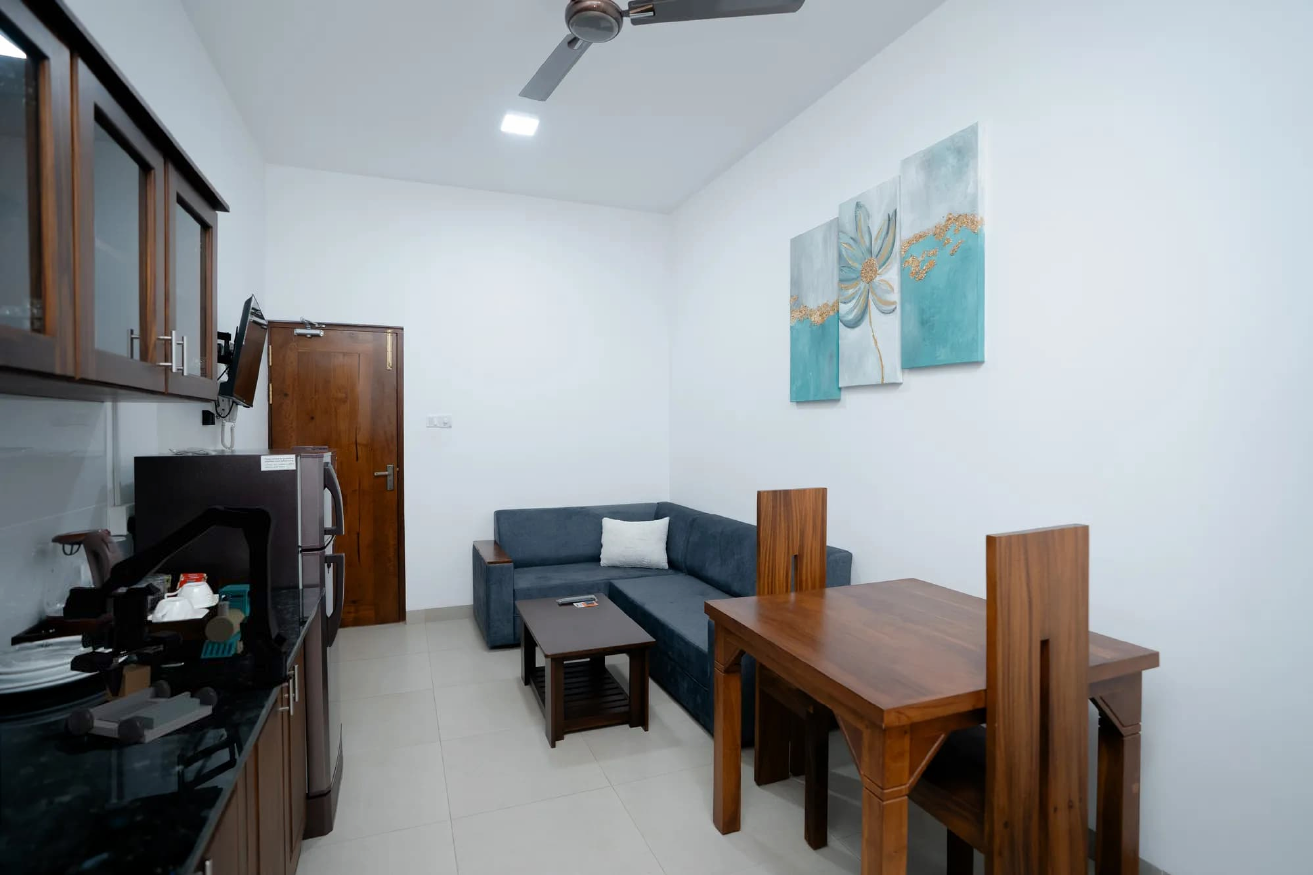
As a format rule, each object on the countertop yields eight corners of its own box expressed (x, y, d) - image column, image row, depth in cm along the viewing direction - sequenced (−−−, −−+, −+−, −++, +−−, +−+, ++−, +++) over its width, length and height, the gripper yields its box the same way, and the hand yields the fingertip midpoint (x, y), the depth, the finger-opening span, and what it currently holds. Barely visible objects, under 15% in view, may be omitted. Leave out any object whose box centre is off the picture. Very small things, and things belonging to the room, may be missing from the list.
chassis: (152, 700, 133) (153, 678, 133) (218, 710, 129) (218, 688, 129) (66, 733, 118) (66, 709, 118) (137, 746, 113) (138, 721, 113)
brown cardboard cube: (131, 691, 137) (132, 663, 137) (149, 694, 136) (150, 666, 136) (106, 700, 132) (107, 671, 132) (125, 703, 131) (125, 674, 131)
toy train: (196, 662, 155) (198, 600, 155) (223, 641, 171) (224, 585, 171) (233, 660, 157) (235, 599, 157) (256, 639, 173) (258, 584, 173)
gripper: (145, 603, 145) (144, 671, 145) (50, 625, 127) (48, 704, 127) (184, 607, 142) (182, 677, 142) (92, 631, 124) (90, 711, 124)
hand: (128, 691), depth 134 cm, fingers closed on brown cardboard cube, 5 cm apart
